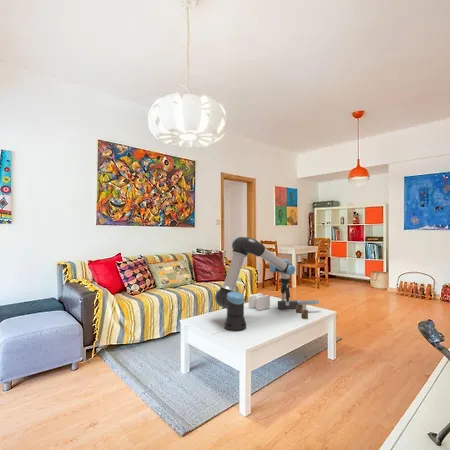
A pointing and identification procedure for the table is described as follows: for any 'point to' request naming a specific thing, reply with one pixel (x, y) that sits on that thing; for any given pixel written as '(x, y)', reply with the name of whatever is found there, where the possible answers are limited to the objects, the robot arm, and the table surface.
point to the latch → (307, 302)
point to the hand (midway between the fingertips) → (285, 303)
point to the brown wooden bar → (302, 311)
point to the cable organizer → (259, 301)
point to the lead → (291, 305)
